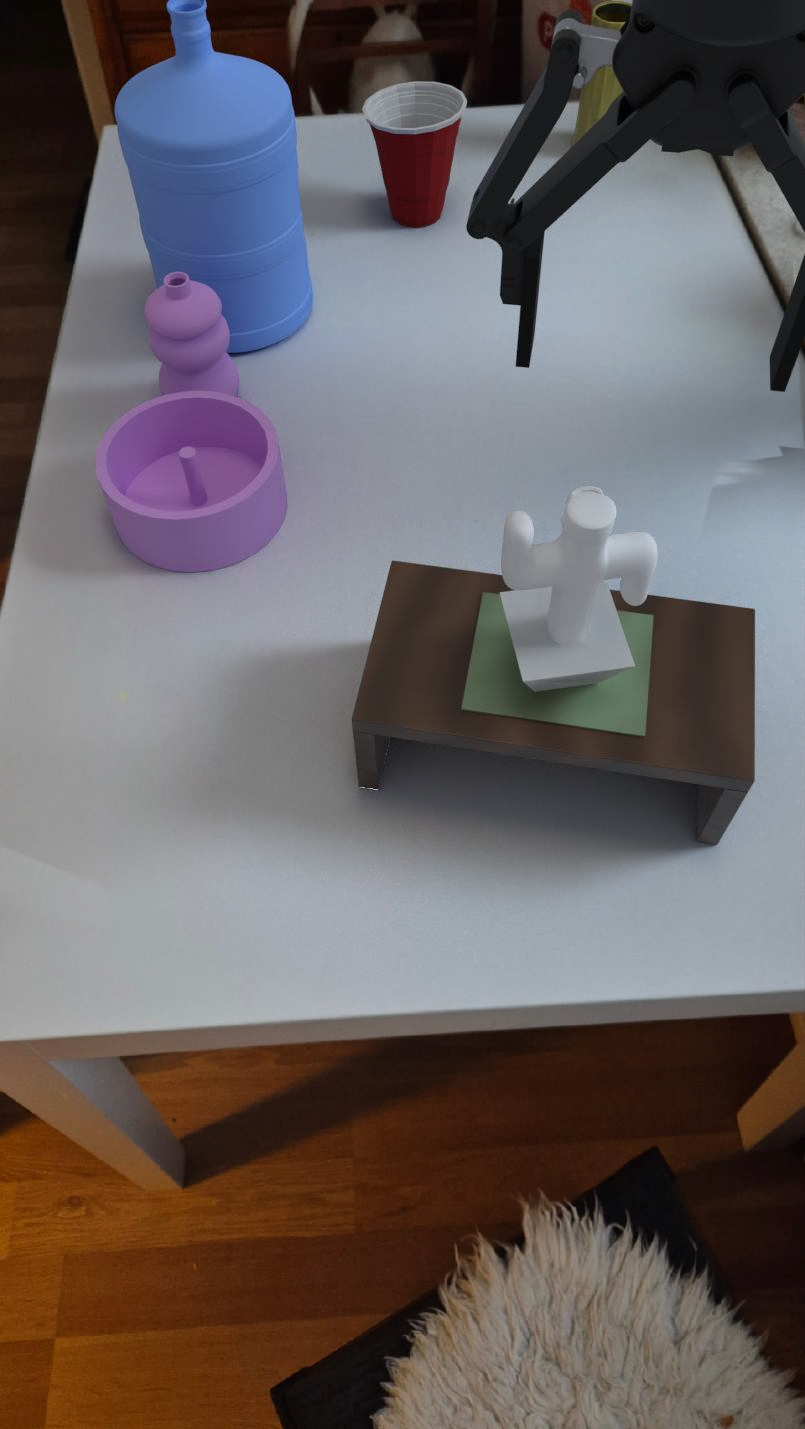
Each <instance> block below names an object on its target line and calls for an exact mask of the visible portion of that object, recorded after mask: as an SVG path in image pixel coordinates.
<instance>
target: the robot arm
mask: <svg viewBox="0 0 805 1429" xmlns="http://www.w3.org/2000/svg"><path fill="white" fill-rule="evenodd" d="M631 4H632V7H631V11H630V14H629V16H628V18H627V20H626V22H625V23H624V25H623V26H622V28H621V29H620V30H619V31H618V30H612V29H607V28H601V27H596V26H591V24H585V20H584V17H583V15H582V14H581V13H580V11H578V10H575V9H573V8H571V9H566V10H564V11H562V12H561V13H560V14H559V15H558V16H557V19H556V21H555V25H554V30H553V36H552V41H551V46H550V51H549V55H548V61H547V65H546V67H545V68H544V70H543V71H542V74H541V75H540V77H539V79H538V81H537V82H536V84H535V86H534V87H533V89H532V91H531V93H530V94H529V96H528V98H527V100H526V102H525V104H524V105H523V107H522V109H521V111H520V112H519V114H518V116H517V117H516V119H515V121H514V123H513V125H512V126H511V128H510V130H509V132H508V134H507V135H506V137H505V139H504V140H503V143H502V144H501V146H500V148H499V149H498V151H497V153H496V155H495V157H494V158H493V160H492V162H491V163H490V165H489V166H488V169H487V170H486V172H485V174H484V175H483V178H482V179H481V181H480V182H479V185H478V186H477V188H476V190H475V192H474V194H473V196H472V200H471V203H470V204H471V205H470V209H469V211H468V212H469V213H468V217H467V222H466V225H465V227H466V228H465V229H466V233H467V234H468V236H470V237H471V238H472V239H475V240H483V239H485V238H488V239H490V240H492V241H494V242H495V243H497V245H498V246H499V247H500V249H501V254H502V255H501V267H500V268H501V269H500V286H499V298H500V300H501V302H502V304H503V305H509V306H519V319H518V331H517V343H516V356H515V367H516V368H524V369H525V368H526V369H529V368H530V365H531V360H532V353H533V347H534V342H535V334H536V323H537V313H538V305H539V294H540V284H541V273H542V263H543V252H544V244H545V232H546V230H548V229H549V228H550V227H551V226H552V225H553V224H554V223H555V222H556V221H557V220H559V219H560V218H561V217H562V216H563V215H564V214H565V213H566V212H567V211H568V210H569V209H571V207H573V205H575V204H576V203H577V202H578V201H579V200H580V199H581V198H582V197H583V196H584V195H586V194H587V193H588V192H589V191H590V190H591V189H592V188H593V187H595V185H596V184H597V183H599V182H600V181H601V180H602V179H603V178H604V177H605V176H606V175H607V174H608V173H609V172H610V171H611V170H613V169H614V168H615V167H616V166H617V165H619V163H625V162H627V161H628V160H629V159H631V158H632V157H633V156H634V155H635V154H637V152H639V150H641V148H642V147H643V146H644V145H645V144H647V143H648V142H649V141H651V142H653V143H654V144H656V145H658V146H661V150H660V152H662V153H675V154H676V153H677V154H679V153H685V152H691V151H696V150H698V151H701V152H705V153H708V154H711V155H714V156H720V157H733V156H734V153H735V151H741V150H743V149H744V148H747V147H748V146H750V145H751V146H752V148H753V149H754V151H755V153H756V155H757V156H758V159H759V160H760V162H761V163H762V165H763V167H764V169H765V170H766V172H767V173H769V174H771V176H772V177H773V179H774V180H775V183H776V184H777V186H778V188H779V189H780V191H781V193H782V195H783V197H784V198H785V200H786V202H787V204H788V206H789V207H790V209H791V211H792V213H793V214H794V216H795V218H796V220H797V222H798V223H799V225H800V227H801V229H802V231H803V232H804V233H805V140H804V138H803V137H802V134H801V133H800V131H799V129H798V127H797V124H796V121H795V118H794V115H793V112H792V110H791V108H792V106H793V105H795V103H797V102H798V101H799V100H800V99H801V98H802V97H803V96H804V95H805V0H632V2H631ZM605 66H612V67H613V71H614V74H615V76H616V78H617V80H618V82H619V84H620V86H621V88H622V90H623V92H622V93H621V94H620V95H619V96H618V97H617V98H616V99H615V100H614V101H613V102H612V104H611V105H610V106H609V108H608V110H607V112H606V113H605V115H604V116H603V117H602V118H601V119H600V120H599V121H598V122H597V123H596V124H595V125H594V126H593V127H592V128H591V129H590V130H589V131H588V132H587V133H585V134H584V135H583V136H582V137H581V138H580V139H579V140H578V141H577V142H576V143H575V144H574V145H573V146H572V145H571V147H570V148H569V149H568V150H567V151H566V152H565V153H563V155H562V156H561V157H560V158H558V160H556V162H555V163H554V164H553V165H552V166H550V168H548V170H546V171H545V173H544V174H543V175H542V176H541V177H540V178H538V180H537V181H536V182H534V184H532V186H530V187H529V188H528V189H527V190H526V191H525V192H524V193H523V194H522V195H521V196H520V197H519V198H518V199H517V200H516V201H515V198H514V197H513V195H514V194H515V192H516V190H517V189H518V187H519V185H520V184H521V182H522V181H523V179H524V177H525V176H526V174H527V172H528V170H529V169H530V167H531V166H532V164H533V162H534V161H535V159H536V157H537V156H538V154H539V153H540V151H541V149H542V147H543V146H544V144H545V143H546V142H547V139H548V137H549V136H550V134H551V132H552V131H553V130H554V128H555V126H556V125H557V123H558V122H559V119H561V118H560V117H561V116H562V114H563V112H564V110H565V109H566V106H567V104H568V101H569V98H570V96H571V92H572V88H574V89H578V90H579V89H581V87H584V86H586V85H588V84H589V83H590V81H591V80H592V78H593V76H594V74H595V73H596V71H597V70H598V69H600V68H602V67H605ZM512 197H513V198H512ZM797 272H798V273H797V276H796V278H795V280H794V284H793V287H792V290H791V293H790V296H789V299H788V302H787V305H786V308H785V311H784V312H783V317H782V319H781V322H780V325H779V329H778V331H777V334H776V338H775V340H774V343H773V345H772V349H771V352H770V356H769V383H770V384H769V391H770V392H771V391H772V392H780V393H781V392H782V393H785V392H786V390H787V387H788V384H789V381H790V379H791V376H792V374H793V372H794V368H795V365H796V363H797V360H798V357H799V356H800V351H801V349H802V346H803V343H804V341H805V253H804V255H803V257H802V260H801V263H800V266H799V270H798V271H797Z"/></svg>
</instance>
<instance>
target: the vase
mask: <svg viewBox="0 0 805 1429" xmlns="http://www.w3.org/2000/svg"><path fill="white" fill-rule="evenodd" d="M631 7H632V2H631V3H630V2H627V1H624V0H623V1H622V0H607V1H603V2H600V3H598V4H597V5H596V6H594V8H593V9H592V12H591V19H590V26H596V27H601V28H607V29H612V30H618V31H619V30H620V29H621V28H622V26H623V25H624V23H625V22H626V20H627V18H628V16H629V14H630V11H631ZM622 92H623V90H622V88H621V86H620V84H619V82H618V80H617V78H616V76H615V74H614V71H613V67H612V66H605V67H602V68H600V69H598V70H597V71H596V73H595V74H594V76H593V78H592V80H591V81H590V83H589V84H588V85H586V86H584V87H581V88H580V92H579V93H580V94H579V100H578V109H577V114H576V115H577V116H576V120H575V127H574V131H573V135H572V138H571V147H572V146H573V145H574V144H575V143H576V142H577V141H578V140H579V139H580V138H581V137H582V136H583V135H584V134H585V133H587V132H588V131H589V130H590V129H591V128H592V127H593V126H594V125H595V124H596V123H597V122H598V121H599V120H600V119H601V118H602V117H603V116H604V115H605V113H606V112H607V110H608V108H609V106H610V105H611V104H612V102H613V101H614V100H615V99H616V98H617V97H618V96H619V95H620V94H621V93H622Z"/></svg>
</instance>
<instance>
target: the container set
mask: <svg viewBox="0 0 805 1429" xmlns="http://www.w3.org/2000/svg"><path fill="white" fill-rule="evenodd" d="M163 282H164V285H162V286H161V287H159V288H158V289H157V288H156V289H155V290H153V291H152V293H151V294H149V296H148V297H147V299H146V301H145V305H144V313H143V316H144V319H145V321H146V323H147V324H148V326H149V327H148V331H147V340H148V346H149V348H150V350H151V352H152V353H153V355H154V357H155V358H156V359H157V360H158V361H159V362H160V363H161V365H160V368H159V373H158V387H159V390H160V394H161V396H158V397H155V398H152V399H149V400H146V401H144V402H143V403H141V404H138V405H136V406H134V407H132V408H131V409H130V410H128V411H127V412H125V413H124V414H122V415H121V416H120V417H119V418H118V419H116V420H115V422H113V424H111V426H109V427H108V429H107V430H106V432H105V434H103V436H102V438H100V439H101V440H100V442H99V445H98V447H97V449H96V452H95V459H94V460H95V461H94V462H95V463H94V467H95V472H96V473H95V474H96V478H97V481H98V483H99V486H100V488H101V491H102V492H101V493H102V495H103V497H104V499H105V502H106V505H107V508H108V510H109V513H110V516H111V518H112V521H113V524H114V527H115V530H116V532H117V533H118V537H119V538H120V541H121V542H122V544H123V545H124V546H125V547H126V548H127V549H128V551H129V552H130V553H132V554H133V555H135V556H136V557H137V558H138V559H140V560H141V561H143V562H145V563H147V564H149V565H151V566H154V567H156V568H158V569H159V568H160V569H162V570H167V571H171V572H179V573H180V572H182V573H199V572H200V573H201V572H211V571H214V570H218V569H224V568H226V567H229V566H232V565H235V564H237V563H240V562H242V561H245V559H248V558H249V557H251V556H252V555H255V554H256V553H258V552H259V551H260V550H261V549H263V547H265V546H266V545H267V544H268V543H269V542H270V541H271V540H272V538H273V537H274V536H275V535H276V534H277V533H278V532H279V529H280V528H281V526H282V524H283V522H284V520H285V518H286V517H285V516H286V512H287V509H288V494H287V487H286V481H285V480H286V479H285V474H284V467H283V460H282V455H281V448H280V442H279V437H278V433H277V431H276V427H275V426H274V424H273V423H272V422H271V420H270V419H269V417H268V416H267V415H266V414H265V413H264V412H263V411H262V410H261V409H260V408H259V407H257V406H256V405H254V404H253V403H250V402H249V401H247V400H246V399H243V398H240V397H238V393H239V390H240V374H239V371H238V367H237V366H236V363H235V361H234V360H233V358H232V357H231V356H230V354H229V353H226V350H227V348H228V345H229V338H230V331H229V328H228V325H227V322H226V320H225V318H224V317H223V316H222V314H221V310H222V304H221V300H220V299H219V297H218V296H217V294H216V293H215V291H214V290H213V289H212V288H210V287H209V286H207V285H205V284H203V283H200V282H196V281H192V280H189V276H188V275H187V274H186V273H183V272H173V273H170V274H168V275H166V276H165V278H164V280H163Z"/></svg>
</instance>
